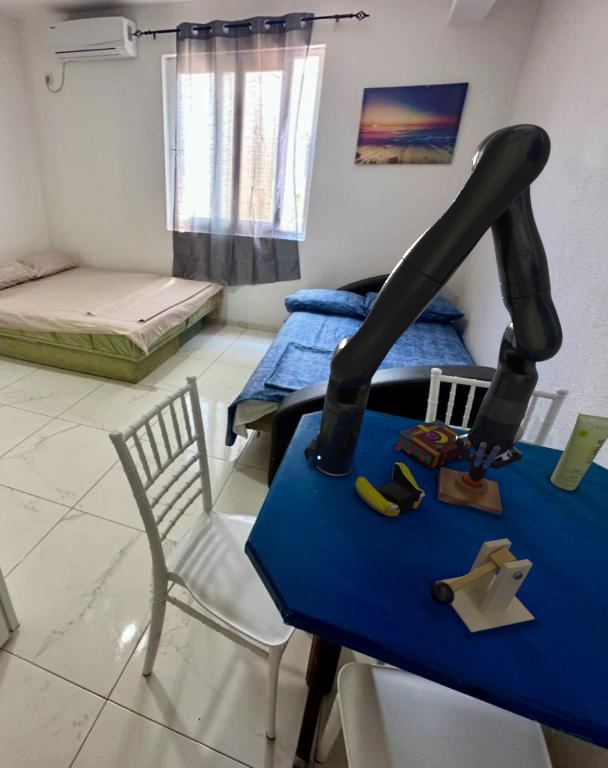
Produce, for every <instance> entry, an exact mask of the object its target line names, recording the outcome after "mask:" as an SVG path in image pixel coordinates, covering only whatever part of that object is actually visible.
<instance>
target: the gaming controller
mask: <svg viewBox="0 0 608 768" xmlns="http://www.w3.org/2000/svg"><path fill="white" fill-rule="evenodd" d="M391 475H392V476H391V481H390V482H388V483H385V484H383V485H380V486H377V487H374V486H373V485H372V484H371V483H370V481H369V480H367V478H366V477H363V476H358V477H357V479H356V481H355V484H354V485H355V486H354V488H355V490H356V492H357V494H358V496H359V497H360V498H361V499H362V500H363V501H364V502H365V503H366V504H367V505H368V506H369V507H370V508H372V509H374V510H375V511H377V512H378V513H380V514H382V515H383V516H385V517H397V516H399V515H402V514H404V513H406V512H409V511H410V510H413V509H418V507H419V506H420V504H421V502H422V501H423V500H422V499H423V497H424V496H426V493H425V492H424V490H423V489H421V488H420V487H419V486H418V483H417V482H416V480H415V478H414V476H413V474H412V473H411V471H410V468H409V467H408V466H407V465H406V464H404V463H403V462H395V463H394V464H393V466H392V474H391Z"/></svg>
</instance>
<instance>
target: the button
mask: <svg viewBox="0 0 608 768" xmlns="http://www.w3.org/2000/svg"><path fill="white" fill-rule="evenodd" d="M462 481H463V482H464V483H465V484H467V485H468V486H471V487H474V488H480V486H481V484H482V482H483V480H481V479H479V481H476V480H472V479H471V477H470V476H469V473H466V474H465V475H464V478H463V480H462Z"/></svg>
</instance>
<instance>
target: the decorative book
mask: <svg viewBox="0 0 608 768" xmlns="http://www.w3.org/2000/svg"><path fill="white" fill-rule="evenodd" d="M457 434H459V435H462V434H461V433H459V432H458V431H456V430H455V429H453V428H451V426H449V425H448V424H446V423H445V422H443V421H442V420H439V419H436V420H433V421H430V422H428V423H427V424H417V425H416V427H414V428H407V429H405V430H400V431H399V432H398V436H400V438H399V441H396V442H395V443H394V444H395V448H394V450H396V451H398V452H399V451H401V450H402V451H404V452H405V453H407V454H408V455H410V456H412V457H413V458H414V459H416V460H418V461H419V462H420V463H421V464H423V465H424V466H426V467H427V468H429V469H433V468H435V467H439V468H441V467H444V466H445V464H446V463H448V462H452V461H454V460H456V461H458V460H461V459H463V458H464V457H463V455H462V454H461V452H460V450H459V448H458V446H457V445H456V443H455V435H457ZM467 442H468V444H467V447H468V449H469V451H470V452H471V450H472V449H473V447H472V445H471V443H470V441H469V440H468V441H467Z"/></svg>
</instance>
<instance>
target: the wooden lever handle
mask: <svg viewBox="0 0 608 768" xmlns="http://www.w3.org/2000/svg"><path fill="white" fill-rule="evenodd" d="M490 558H491V562H489V563H487V564H486V565H484V566H482V567H480V568H478V569H476V570H474V571H472V572H471V573H470V572H468V573H467V574H465V575H463V576H460V577H461V578H459V579H457V580H456V581H454V582H452V583H450V584H447V583H445V582H442V581H441V580H436V581H437V582H436V581H434V582H433V583H431V585H430V587H429V595H430V598H431V599H432V601H433V602H434V603H435V604H437V605H438V606H441V607H449V606H452V605H451V604H452V603H453V601H454V599H455V594H454V593H455V592H457V591H459V590H460V589H462V588H464V587H466V586H468V585H470V584H472V583H474V582H476V581H477V580H479V579H481V578H483V577H485V576H487V575H489V574H491V573H492V572H494V571H496V570H497V571H498V572H499V571H500V569H501V567H502V565H503V564H504V563H508V562H514V561H518V560H517V557H516V556H514V554H513V553H512V552H510V550H509V549H507V548H506V547H505V548H503V549H501V550H499V551H497V552H495V553H493V554H491V555H490Z"/></svg>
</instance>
